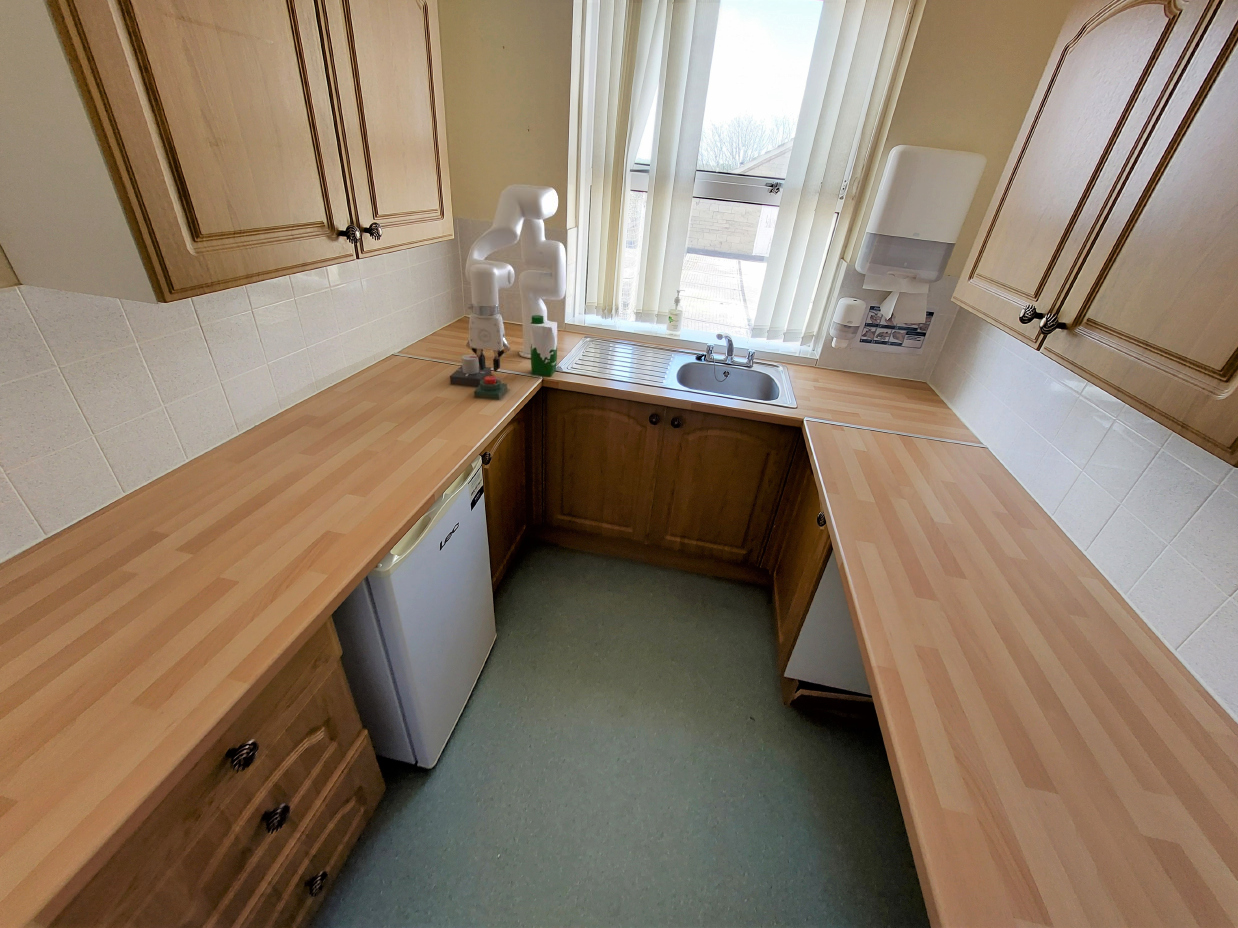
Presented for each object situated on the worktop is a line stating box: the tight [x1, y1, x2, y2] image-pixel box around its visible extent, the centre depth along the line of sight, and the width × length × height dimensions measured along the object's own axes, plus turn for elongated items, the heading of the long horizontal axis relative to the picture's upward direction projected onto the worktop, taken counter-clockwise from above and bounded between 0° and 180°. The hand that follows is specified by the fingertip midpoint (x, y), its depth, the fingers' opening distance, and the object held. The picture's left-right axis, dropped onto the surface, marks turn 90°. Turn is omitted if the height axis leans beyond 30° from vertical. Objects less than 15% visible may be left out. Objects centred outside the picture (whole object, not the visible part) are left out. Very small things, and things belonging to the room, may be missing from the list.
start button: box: [484, 375, 497, 384], centre depth 154 cm, size 4×4×2 cm
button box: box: [473, 378, 508, 401], centre depth 155 cm, size 9×8×4 cm
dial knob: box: [461, 354, 479, 374], centre depth 162 cm, size 5×5×5 cm
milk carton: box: [529, 315, 558, 378], centre depth 171 cm, size 9×9×20 cm
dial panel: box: [449, 365, 492, 388], centre depth 164 cm, size 12×10×3 cm
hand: (489, 368), depth 152 cm, fingers open, 3 cm apart
